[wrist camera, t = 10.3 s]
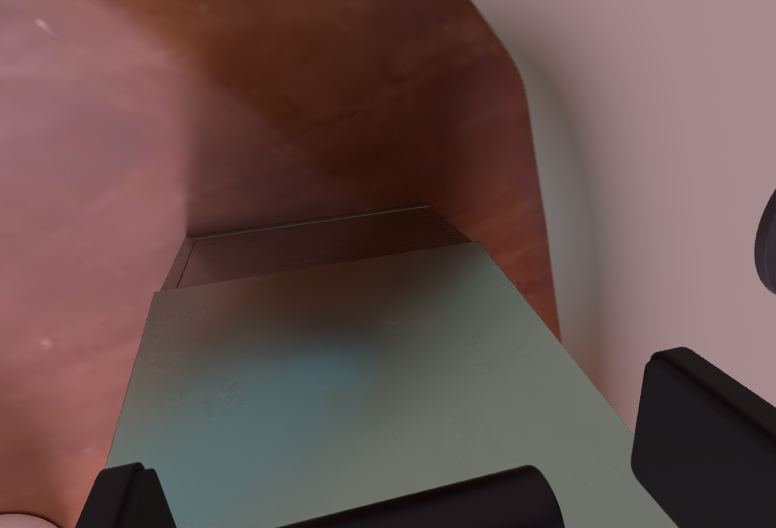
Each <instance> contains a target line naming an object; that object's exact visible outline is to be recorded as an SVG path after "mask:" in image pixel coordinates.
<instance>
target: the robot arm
mask: <svg viewBox="0 0 776 528" xmlns="http://www.w3.org/2000/svg"><path fill="white" fill-rule="evenodd" d="M631 469H632V472H633V474H634V476H635V478H636V479H637V481H638V482H639V483H640V484H641V485H642V486H643V488H644V489H645V490H646V491H647V492H648V493H649V495H650V496H651V497H652V498H653V499H654V500H655V501H656V503H657V504H658V505H659V506H660V507H661V508H662V509H663V511H664V512H665V513H666V514H667V515H668V516H669V517H670V519H671V520H672V521H673V522H674V523H675V524H676V525H677V527H678V528H776V407H774V406H773V405H771V404H770V403H768V402H767V401H765V400H764V399H762V398H761V397H759V396H758V395H756V394H755V393H753V392H752V391H751V390H749V389H748V388H746V387H744V386H743V385H742V384H740V383H739V382H738V381H736V380H735V379H733V378H732V377H730V376H729V375H727V374H726V373H724V372H723V371H721V370H720V369H719V368H717V367H716V366H714V365H713V364H711V363H710V362H708V361H707V360H705V359H704V358H702V357H701V356H700V355H698V354H696V353H695V352H694V351H692V350H691V349H688V348H686V347H678V348H674V349H669V350H664V351H659V352H656V353H654V354H653V355H652V356H651V359H650V361H649V362H648V363H647V364H646V366H645V370H644V377H643V383H642V390H641V396H640V403H639V410H638V416H637V422H636V429H635V435H634V441H633V448H632V454H631ZM75 528H177V527H176V524H175V521H174V519H173V516H172V513H171V511H170V508H169V505H168V502H167V500H166V497H165V494H164V491H163V489H162V486H161V483H160V480H159V478H158V475H157V473H156V471H155V469H154V468H150V469H146V470H145V468H144V466H143V464H142V463H141V462H136V463H131V464H126V465H121V466H117V467H112V468H107V469H103V470H102V471H101V472H100V473H99V474H98V476H97V478H96V480H95V482H94V485H93V487H92V489H91V492H90V494H89V496H88V498H87V501H86V503H85V505H84V508H83V510H82V512H81V515H80V517H79V519H78V522H77V524H76V526H75Z"/></svg>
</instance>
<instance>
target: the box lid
mask: <svg viewBox="0 0 776 528" xmlns="http://www.w3.org/2000/svg"><path fill="white" fill-rule="evenodd" d="M633 441H634V434H633V433H632V432H631V430H630V429H629V428H628V427H627V426H626V424H625V423H624V422H623V420H622V419H621V418H620V417H619V416H618V414H617V413H616V412H615V411H614V409H613V408H612V407H611V406H610V404H609V403H608V402H607V401H606V399H605V398H604V397H603V396H602V394H601V393H600V392H599V391H598V389H597V388H596V387H595V386H594V384H593V383H592V382H591V381H590V379H589V378H588V377H587V376H586V374H585V373H584V372H583V371H582V369H581V368H580V367H579V366H578V365H577V363H576V362H575V361H574V359H573V358H572V357H571V356H570V354H569V353H568V352H567V351H566V350H565V348H564V347H563V346H562V344H561V343H560V342H559V341H558V339H557V338H556V337H555V336H554V334H553V333H552V332H551V331H550V329H549V328H548V327H547V326H546V324H545V323H544V322H543V321H542V319H541V318H540V317H539V316H538V314H537V313H536V312H535V311H534V309H533V308H532V307H531V306H530V304H529V303H528V302H527V301H526V299H525V298H524V297H523V296H522V294H521V293H520V292H519V291H518V289H517V288H516V287H515V286H514V284H513V283H512V282H511V281H510V279H509V278H508V277H507V276H506V274H505V273H504V272H503V271H502V270H501V268H500V267H499V266H498V265H497V263H496V262H495V261H494V260H493V258H492V257H491V256H490V255H489V253H488V252H487V251H486V250H485V248H484V247H483V246H482V245H481V243H480V242H479V241H475V242H469V243H462V244H456V245H450V246H443V247H437V248H431V249H424V250H418V251H412V252H405V253H399V254H393V255H386V256H380V257H374V258H367V259H361V260H354V261H348V262H342V263H335V264H329V265H323V266H316V267H310V268H304V269H297V270H291V271H285V272H278V273H272V274H266V275H259V276H253V277H247V278H240V279H234V280H227V281H221V282H215V283H208V284H202V285H196V286H189V287H183V288H177V289H170V290H164V291H158V292H154V295H153V299H152V302H151V306H150V310H149V313H148V317H147V320H146V324H145V327H144V331H143V334H142V338H141V342H140V345H139V349H138V352H137V356H136V359H135V363H134V366H133V370H132V374H131V377H130V381H129V384H128V388H127V391H126V395H125V398H124V402H123V406H122V409H121V413H120V416H119V420H118V423H117V427H116V430H115V434H114V438H113V441H112V445H111V448H110V452H109V455H108V459H107V462H106V466H105V469H107V468H112V467H117V466H121V465H126V464H131V463H136V462H141V463H142V464H143V466H144V468H145V470H146V469H150V468H154V469H155V471H156V473H157V475H158V478H159V480H160V483H161V486H162V489H163V491H164V494H165V497H166V500H167V502H168V505H169V508H170V511H171V513H172V516H173V519H174V521H175V524H176V527H177V528H678V527H677V525H676V524H675V523H674V522H673V521H672V520H671V519H670V517H669V516H668V515H667V514H666V513H665V512H664V511H663V509H662V508H661V507H660V506H659V505H658V504H657V503H656V501H655V500H654V499H653V498H652V497H651V496H650V495H649V493H648V492H647V491H646V490H645V489H644V488H643V486H642V485H641V484H640V483H639V482H638V481H637V479H636V478H635V476H634V474H633V472H632V469H631V454H632V448H633Z"/></svg>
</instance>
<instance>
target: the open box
mask: <svg viewBox="0 0 776 528" xmlns="http://www.w3.org/2000/svg"><path fill="white" fill-rule="evenodd" d="M469 242H472V241H470V240H469V239H468V238H467V237H466V236H465V235H463V234H462V233H461V232H460V231H459V230H458V229H457V228H455V227H454V226H453V225H452V224H451V223H450V222H448V221H447V220H446V219H445V218H444V217H443V216H442V215H440V214H439V213H438V212H437V211H436V210H435V209H434V208H432V207H431V206H430V205H429V204H428V203H424V204H417V205H410V206H403V207H396V208H389V209H381V210H374V211H367V212H360V213H353V214H346V215H339V216H331V217H324V218H317V219H310V220H303V221H296V222H288V223H281V224H274V225H267V226H260V227H253V228H246V229H238V230H231V231H224V232H217V233H210V234H203V235H195V236H188V237H186V238H185V240H184V241H183V243H182V246H181V248H180V250H179V252H178V254H177V256H176V258H175V260H174V263H173V265H172V267H171V269H170V271H169V273H168V275H167V278H166V280H165V282H164V284H163V286H162V288H161V290H160V291H164V290H170V289H177V288H183V287H189V286H196V285H202V284H208V283H215V282H221V281H227V280H234V279H240V278H247V277H253V276H259V275H266V274H272V273H278V272H285V271H291V270H297V269H304V268H310V267H316V266H323V265H329V264H335V263H342V262H348V261H354V260H361V259H367V258H374V257H380V256H386V255H393V254H399V253H405V252H412V251H418V250H424V249H431V248H437V247H443V246H450V245H456V244H462V243H469Z"/></svg>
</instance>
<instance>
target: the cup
mask: <svg viewBox="0 0 776 528" xmlns="http://www.w3.org/2000/svg"><path fill="white" fill-rule="evenodd" d="M0 528H58V527H56V526H55V525H53V524H52V523H50V522H48V521H46V520H44V519H41V518H38V517H35V516H31V515H24V514H2V515H0Z"/></svg>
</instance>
